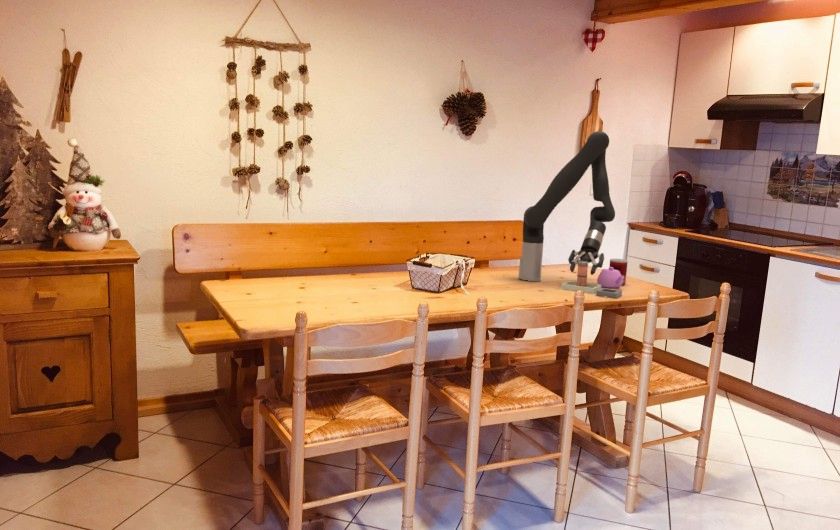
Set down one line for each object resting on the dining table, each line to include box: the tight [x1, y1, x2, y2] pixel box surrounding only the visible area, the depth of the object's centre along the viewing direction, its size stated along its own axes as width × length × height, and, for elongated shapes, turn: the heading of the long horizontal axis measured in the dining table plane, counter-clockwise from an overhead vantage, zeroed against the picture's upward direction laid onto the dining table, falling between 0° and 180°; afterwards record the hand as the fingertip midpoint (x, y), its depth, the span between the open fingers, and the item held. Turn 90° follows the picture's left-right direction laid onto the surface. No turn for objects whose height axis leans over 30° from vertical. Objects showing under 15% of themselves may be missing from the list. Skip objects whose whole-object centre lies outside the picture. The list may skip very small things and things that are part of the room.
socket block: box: [594, 287, 623, 300], centre depth 288 cm, size 9×11×3 cm
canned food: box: [608, 258, 628, 286], centre depth 319 cm, size 8×8×11 cm
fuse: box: [576, 261, 589, 287], centre depth 297 cm, size 4×4×12 cm
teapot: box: [596, 267, 624, 289], centre depth 307 cm, size 10×15×9 cm
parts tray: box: [560, 280, 602, 295], centre depth 298 cm, size 14×10×3 cm
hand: (581, 272), depth 296 cm, fingers open, 8 cm apart
